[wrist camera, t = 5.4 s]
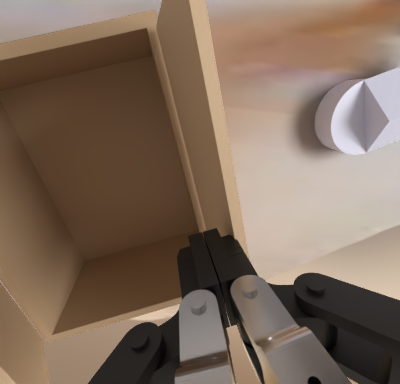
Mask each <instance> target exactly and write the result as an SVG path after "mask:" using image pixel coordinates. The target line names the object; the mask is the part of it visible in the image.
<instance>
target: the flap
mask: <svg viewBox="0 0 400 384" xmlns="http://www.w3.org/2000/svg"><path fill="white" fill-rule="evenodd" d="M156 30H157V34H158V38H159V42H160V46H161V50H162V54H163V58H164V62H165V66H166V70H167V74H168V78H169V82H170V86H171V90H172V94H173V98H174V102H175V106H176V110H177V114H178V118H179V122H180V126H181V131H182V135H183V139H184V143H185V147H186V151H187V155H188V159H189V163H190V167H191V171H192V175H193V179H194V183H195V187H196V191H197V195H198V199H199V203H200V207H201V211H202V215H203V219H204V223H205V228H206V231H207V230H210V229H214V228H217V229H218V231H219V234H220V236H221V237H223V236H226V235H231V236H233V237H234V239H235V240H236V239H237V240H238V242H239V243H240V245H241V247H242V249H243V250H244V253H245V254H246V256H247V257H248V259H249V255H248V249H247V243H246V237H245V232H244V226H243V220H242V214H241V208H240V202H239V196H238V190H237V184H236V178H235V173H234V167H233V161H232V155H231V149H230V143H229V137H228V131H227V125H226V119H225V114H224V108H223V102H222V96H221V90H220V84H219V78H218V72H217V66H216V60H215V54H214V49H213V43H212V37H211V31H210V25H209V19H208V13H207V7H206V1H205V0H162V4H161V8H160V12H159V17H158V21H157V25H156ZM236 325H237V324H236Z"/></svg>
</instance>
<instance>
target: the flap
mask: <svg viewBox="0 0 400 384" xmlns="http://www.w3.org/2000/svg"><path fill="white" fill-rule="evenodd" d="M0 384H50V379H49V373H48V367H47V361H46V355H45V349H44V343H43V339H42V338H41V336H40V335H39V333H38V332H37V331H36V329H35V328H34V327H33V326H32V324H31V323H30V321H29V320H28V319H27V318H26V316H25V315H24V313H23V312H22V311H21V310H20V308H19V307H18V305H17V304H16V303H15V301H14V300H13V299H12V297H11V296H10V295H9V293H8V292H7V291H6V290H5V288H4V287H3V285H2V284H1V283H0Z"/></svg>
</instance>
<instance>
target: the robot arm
mask: <svg viewBox="0 0 400 384" xmlns="http://www.w3.org/2000/svg"><path fill="white" fill-rule="evenodd" d="M203 236H204V237H203ZM188 239H189V244H190V246H188V247H185V248H181V249H180V250H179V252H178V255H177V263H178V271H179V279H180V287H181V295H182V301H181V303H180V306H179V310H178V312H177V313H176V314H175V315H174V316H173V317H172V318H171V319H169V320H168V321H167V322H165V323H163V324H162V325H160V326H159V327H158V326H157V325H156V324H154V323H151V322H145V323H141V324H139V325H136V326H135V327H133V328H132V329H131V330H130V331H129V332H127V334H126V335H125V336H124V337H123V339H122V340H121V341H120V343H119V344H118V345H117V346H116V348H115V349H114V350H113V352H112V353H111V354H110V356H109V357H108V358H107V360H106V361H105V362H104V364H103V365H102V366H101V367H100V369H99V370H98V371H97V372H96V374H95V375H94V376H93V378H92V379H91V381H90V382H89V383H88V384H237V381H236V377H235V372H234V368H233V363H232V358H231V353H230V349H229V338H228V334H227V330H226V328H227V327H230V325H229V322H228V318H229V321H230V324H231V326H233V325H236V324H237V327H238V330H239V333H240V337H241V341H242V344H243V347H244V349H245V352H246V354H247V356H248V358H249V361H250V363H251V365H252V367H253V370H254V372H255V375H256V377H257V379H258V381H259V384H351V382H350V381H349V380H348V378H350V379H351V380H353V381H355V382H357V383H358V384H400V300H397V299H394V298H391V297H388V296H385V295H382V294H379V293H376V292H373V291H370V290H367V289H364V288H361V287H358V286H355V285H352V284H349V283H346V282H343V281H340V280H337V279H334V278H331V277H328V276H325V275H322V274H318V273H305V274H302V275H300V276H298V277H297V278H296V280H295V281H294V285H273V284H270V283H267V282H266V281H265V280H264V279H263V278H261V277H259V276H258V275H257V273H256V271H255V269H254V268H253V266H252V264H251V263H250V261H249V259H248V257H247V256H246V254H245V253H244V250H243V249H242V247H241V245H240V243H239V242H238V240H237V239H236V240H235V239H234V237H233V236H231V235H226V236H223V237H221V236H220V234H219V231H218V229H217V228H214V229H210V230H207V231H203V234H202V232H200V233H197V234H193V235H190V236H188ZM226 312H227V313H226ZM227 315H228V317H227ZM347 377H348V378H347Z"/></svg>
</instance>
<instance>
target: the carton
mask: <svg viewBox="0 0 400 384" xmlns="http://www.w3.org/2000/svg"><path fill="white" fill-rule="evenodd" d="M157 21H158V19H157V15H156V10H152V11H148V12H143V13H139V14H134V15H130V16H125V17H120V18H116V19H111V20H107V21H102V22H98V23H93V24H88V25H84V26H79V27H75V28H70V29H66V30H61V31H56V32H52V33H47V34H43V35H38V36H34V37H29V38H24V39H20V40H15V41H11V42H6V43H2V44H0V280H1V281H2V282H3V284H4V285H5V287H6V288H7V289H8V291H9V292H10V294H11V295H12V296H13V298H14V299H15V300H16V302H17V303H18V304H19V305H20V307H21V308H22V310H23V311H24V312H25V314H26V315H27V316H28V318H29V319H30V320H31V322H32V323H33V324H34V326H35V327H36V328H37V330H38V331H39V332H40V334H41V335H42V336H43V338H44V339H45V340H46V342H47V343H49V342H52V341H56V340H59V339H62V338H66V337H69V336H73V335H76V334H79V333H83V332H86V331H89V330H93V329H96V328H99V327H103V326H106V325H110V324H113V323H116V322H120V321H123V320H127V319H130V318H133V317H137V316H140V315H143V314H147V313H150V312H153V311H157V310H160V309H164V308H167V307H170V306H174V305H177V304H180V303H181V301H182V295H181V287H180V279H179V271H178V263H177V255H178V252H179V250H180V249H181V248H185V247H188V246H190V244H189V239H188V236H190V235H193V234H197V233H200V232H202V234H203V231H206V228H205V223H204V219H203V215H202V211H201V207H200V203H199V199H198V195H197V191H196V187H195V183H194V179H193V175H192V171H191V167H190V163H189V159H188V155H187V151H186V147H185V143H184V139H183V135H182V131H181V126H180V122H179V118H178V114H177V110H176V106H175V102H174V98H173V94H172V90H171V86H170V82H169V78H168V74H167V70H166V66H165V62H164V58H163V54H162V50H161V46H160V42H159V38H158V34H157V30H156V25H157ZM203 237H204V236H203Z"/></svg>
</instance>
